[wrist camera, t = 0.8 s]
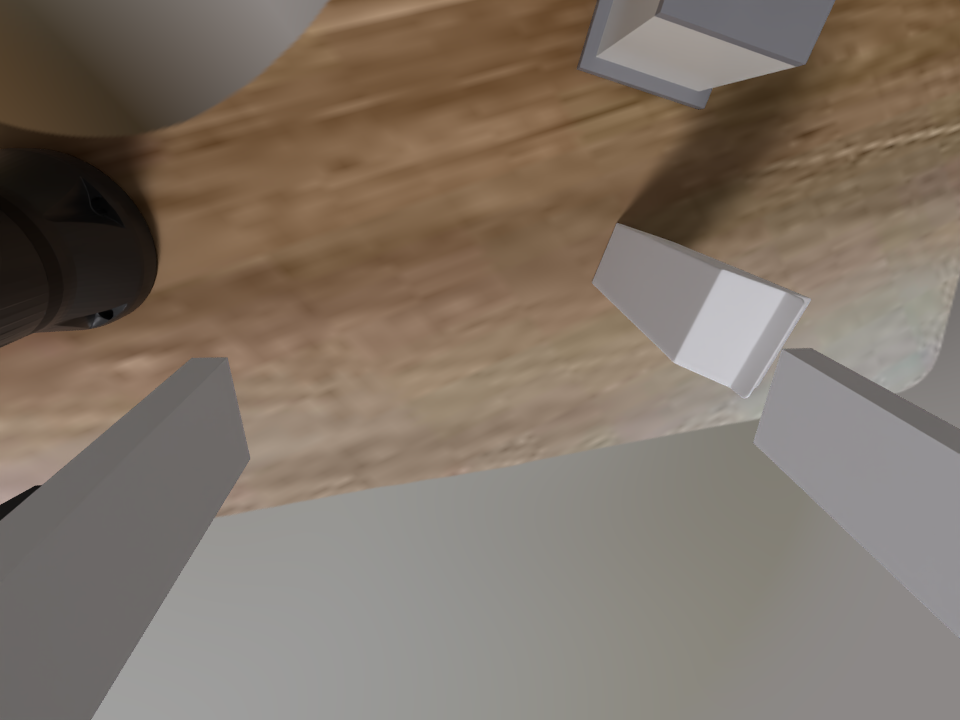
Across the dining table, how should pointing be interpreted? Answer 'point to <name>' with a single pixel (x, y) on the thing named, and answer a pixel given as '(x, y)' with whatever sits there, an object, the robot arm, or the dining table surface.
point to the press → (698, 43)
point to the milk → (698, 307)
